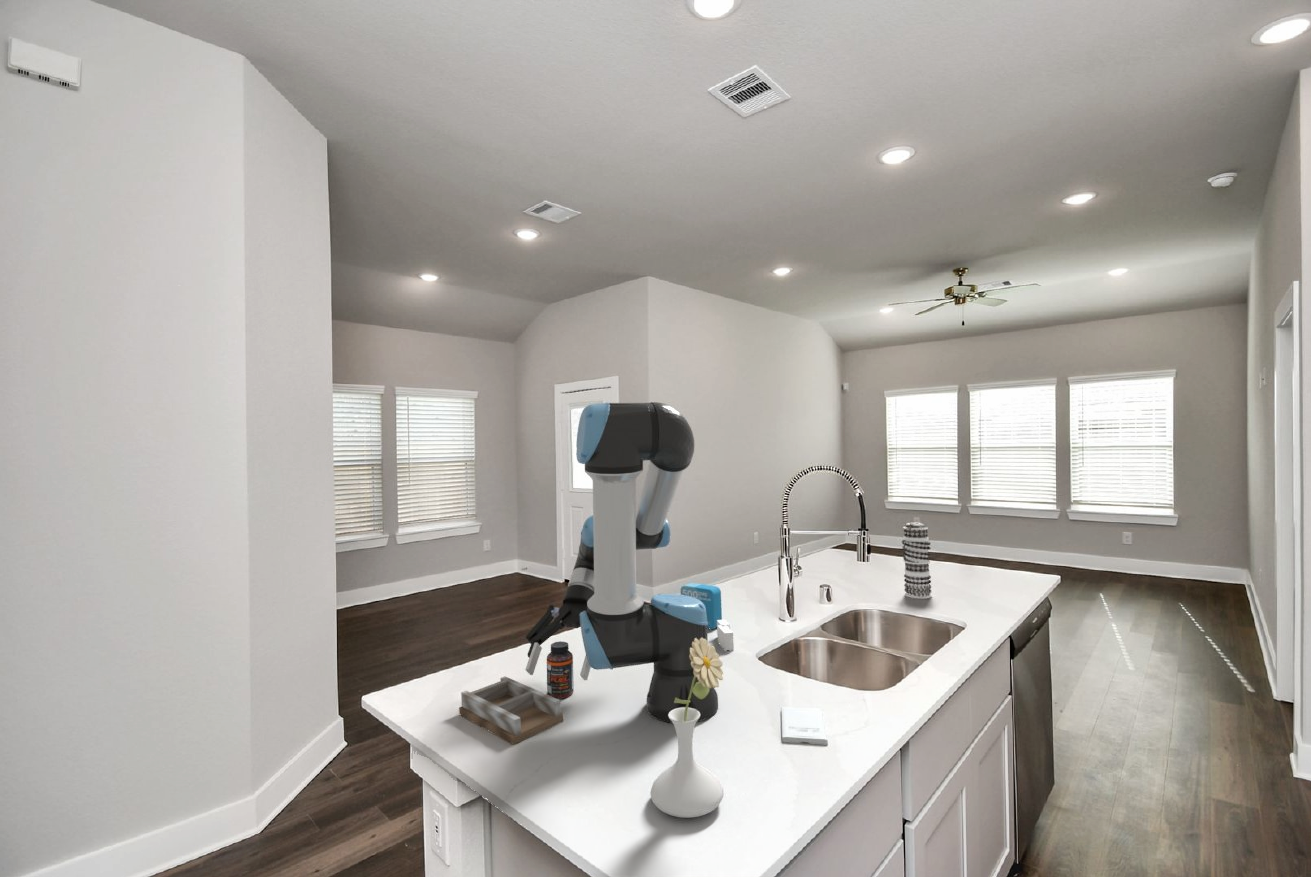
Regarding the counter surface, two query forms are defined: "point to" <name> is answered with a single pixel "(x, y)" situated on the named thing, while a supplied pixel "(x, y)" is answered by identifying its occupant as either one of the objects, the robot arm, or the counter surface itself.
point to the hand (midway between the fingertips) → (555, 675)
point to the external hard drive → (803, 725)
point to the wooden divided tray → (511, 710)
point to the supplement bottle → (560, 671)
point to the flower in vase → (690, 747)
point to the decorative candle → (916, 561)
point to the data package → (706, 600)
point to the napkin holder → (725, 635)
